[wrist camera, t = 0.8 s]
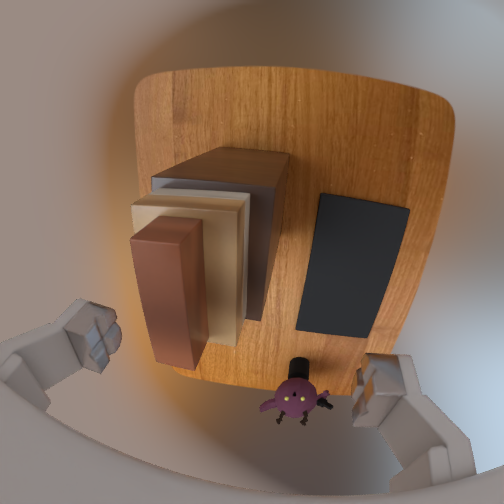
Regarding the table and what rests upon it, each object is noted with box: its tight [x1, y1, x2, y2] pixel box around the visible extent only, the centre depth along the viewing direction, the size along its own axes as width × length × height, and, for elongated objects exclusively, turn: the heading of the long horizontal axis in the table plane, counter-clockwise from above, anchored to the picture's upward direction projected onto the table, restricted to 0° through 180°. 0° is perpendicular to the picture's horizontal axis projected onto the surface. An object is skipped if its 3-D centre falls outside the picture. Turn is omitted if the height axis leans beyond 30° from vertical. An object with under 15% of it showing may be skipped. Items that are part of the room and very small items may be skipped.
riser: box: [151, 147, 290, 321], centre depth 26 cm, size 10×8×16 cm
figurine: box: [259, 357, 333, 426], centre depth 39 cm, size 8×8×12 cm
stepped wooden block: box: [130, 188, 250, 371], centre depth 16 cm, size 9×6×6 cm, turn 178°
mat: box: [296, 193, 410, 338], centre depth 36 cm, size 20×11×1 cm, turn 176°
